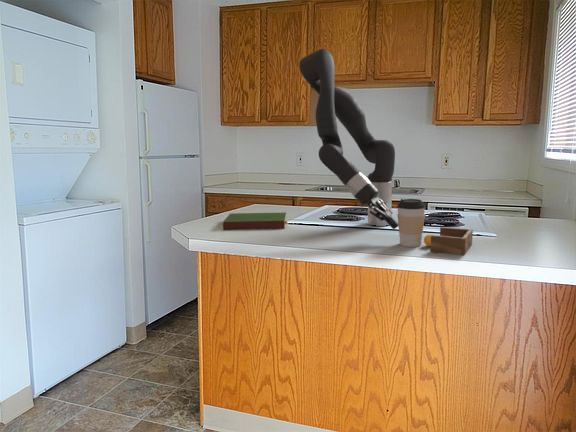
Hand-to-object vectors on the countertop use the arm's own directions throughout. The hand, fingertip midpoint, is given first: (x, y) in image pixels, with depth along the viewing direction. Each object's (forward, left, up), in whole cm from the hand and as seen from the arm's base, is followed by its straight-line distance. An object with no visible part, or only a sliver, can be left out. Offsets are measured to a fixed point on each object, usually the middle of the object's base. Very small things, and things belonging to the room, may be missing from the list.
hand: (396, 227), depth 156 cm
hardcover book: (-8, -61, -6) cm, 62 cm away
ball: (0, +10, -2) cm, 10 cm away
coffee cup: (0, +5, -5) cm, 7 cm away
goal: (0, +18, -5) cm, 19 cm away
